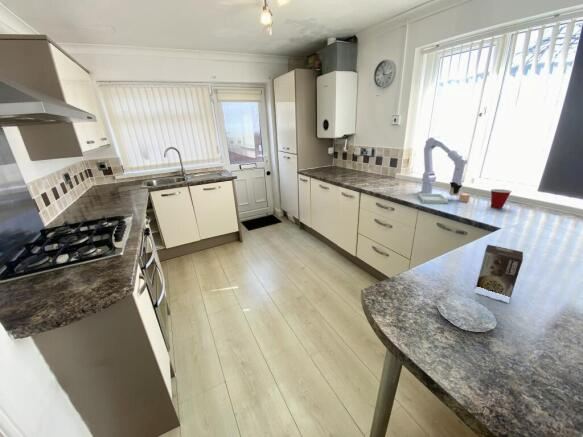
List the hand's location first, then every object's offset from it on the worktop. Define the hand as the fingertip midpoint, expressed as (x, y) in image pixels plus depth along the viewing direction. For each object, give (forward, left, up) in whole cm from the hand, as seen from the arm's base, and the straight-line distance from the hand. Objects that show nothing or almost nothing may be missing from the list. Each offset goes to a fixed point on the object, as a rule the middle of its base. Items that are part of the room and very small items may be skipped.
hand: (454, 192), depth 181 cm
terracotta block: (+3, +6, -5) cm, 9 cm away
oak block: (0, 0, -2) cm, 2 cm away
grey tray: (+4, -15, -5) cm, 16 cm away
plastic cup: (+16, +21, -5) cm, 27 cm away
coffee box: (+119, -23, -5) cm, 122 cm away
